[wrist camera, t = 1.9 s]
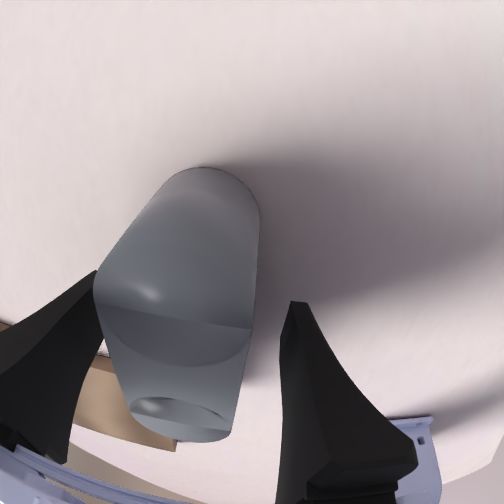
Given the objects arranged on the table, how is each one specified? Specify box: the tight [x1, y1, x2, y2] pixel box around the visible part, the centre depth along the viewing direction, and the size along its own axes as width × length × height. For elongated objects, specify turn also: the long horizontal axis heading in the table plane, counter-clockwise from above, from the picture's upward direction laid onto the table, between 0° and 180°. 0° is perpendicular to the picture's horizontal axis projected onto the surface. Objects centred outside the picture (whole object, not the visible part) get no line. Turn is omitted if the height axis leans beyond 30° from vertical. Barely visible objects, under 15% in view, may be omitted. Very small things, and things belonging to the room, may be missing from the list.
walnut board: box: [0, 322, 177, 452], centre depth 19 cm, size 16×12×1 cm
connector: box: [93, 167, 260, 443], centre depth 12 cm, size 4×13×5 cm, turn 172°
